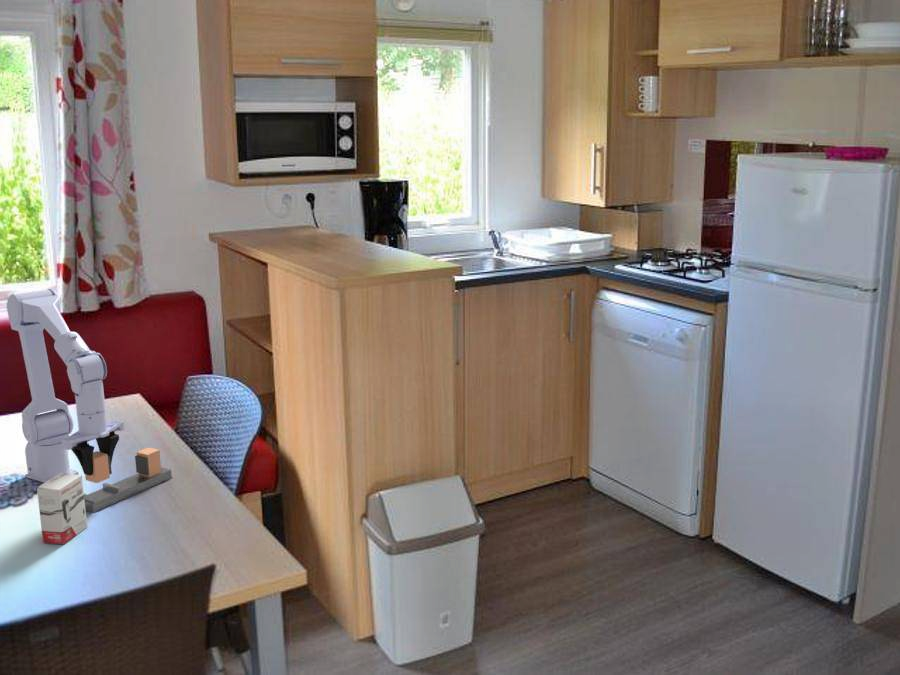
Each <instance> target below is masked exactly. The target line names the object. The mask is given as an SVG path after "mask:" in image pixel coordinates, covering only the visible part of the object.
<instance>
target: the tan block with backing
mask: <svg viewBox="0 0 900 675" xmlns="http://www.w3.org/2000/svg"><path fill="white" fill-rule="evenodd" d="M112 473H113V472H112V463H111V461H110V456H108V455H107V454H105V453H102V452H100V451H99V450H95V451H93V475H91V476H90V475H86V474H84V476H85V481H86V482H87V481H88V482H91V483H94V484H99V483H101V482H103V481H106V480H108V479H110V477H111V476H110V475H112Z"/></svg>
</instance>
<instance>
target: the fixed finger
mask: <svg viewBox="0 0 900 675" xmlns="http://www.w3.org/2000/svg"><path fill="white" fill-rule="evenodd" d="M160 453H161V452H160V449H158V448H152V447H146V448H144V449H141V450H139V451H137V452H136V455H135V456H134V459H135V471H136V474H138V473H139V475H142V476H146V477H149V478H150V477H152V476H154V475H157V474H159V473H161V466H162V464H161V454H160Z"/></svg>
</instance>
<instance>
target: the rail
mask: <svg viewBox="0 0 900 675" xmlns="http://www.w3.org/2000/svg"><path fill="white" fill-rule="evenodd" d="M172 475H173V474H172V470H171V469H169V468H165V467H161V473H159V474H157V475H154V476H152V477H150V478H149V477H146V476H142V475H139V473H136V474H134V475H130V476H129V477H127V478H124V479H122V480H120V481H117V482H115V483H107V482H105V483H102V488H101V489H98V490H96V491H93V492H91V493H89V494H86V493H84V501H85V510H86V512H87V511H88V512H91V513H95V512H98V511H100V510H102V509H104V508H107V507H109V506H112V505H114V504H116V503H119V502H121V501H123V500H125V499H128V498H129V497H133V496H134V495H137V494H138V493H141V492H143V491H145V490H147V489H150V488H152V487H154V486H157V485H159V484H161V483H163V482H166V481H168V480H170V479H173V478H172Z"/></svg>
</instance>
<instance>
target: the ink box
mask: <svg viewBox="0 0 900 675" xmlns="http://www.w3.org/2000/svg"><path fill="white" fill-rule="evenodd" d="M37 487H38V488H36V492H37V493H36V494H37V503H38V510H39V518H40V519H39V520H40V526H41V534H42V543H43V544H45V543H46V544H54V545H65V544H66V543H68V542H69V541H71V540H72V539H73V538H75V537H76V536H77V535H79V534H80V533H81V532H83V531H84V530H85V529H86V528H88V521H87V510H85V501H84V494H85V492H84V484H83V474H79V473H78V474H68V473H59V474H58V475H56V476H54V477H53V478H51V479H49V480H48V481H46V482H45V483H44V482H42V484H40V485H38V486H37Z"/></svg>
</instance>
